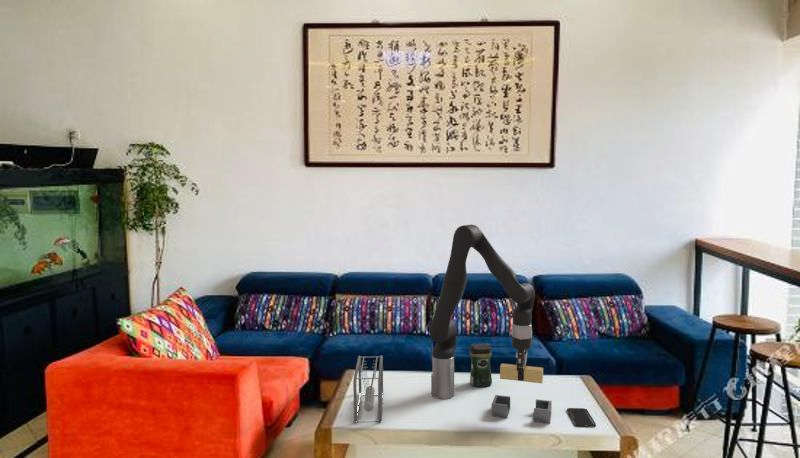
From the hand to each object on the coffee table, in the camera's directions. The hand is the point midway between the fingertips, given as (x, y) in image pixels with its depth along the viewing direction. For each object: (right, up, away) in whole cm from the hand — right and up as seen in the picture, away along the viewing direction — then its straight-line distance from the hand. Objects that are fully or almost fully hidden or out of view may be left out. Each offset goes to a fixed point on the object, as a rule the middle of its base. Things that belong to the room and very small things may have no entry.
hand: (521, 378), depth 219 cm
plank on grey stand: (0, -15, +2) cm, 15 cm away
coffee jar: (-11, -12, +34) cm, 38 cm away
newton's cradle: (-59, -15, +10) cm, 62 cm away
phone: (+22, -15, -2) cm, 27 cm away
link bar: (0, 0, 0) cm, 1 cm away
